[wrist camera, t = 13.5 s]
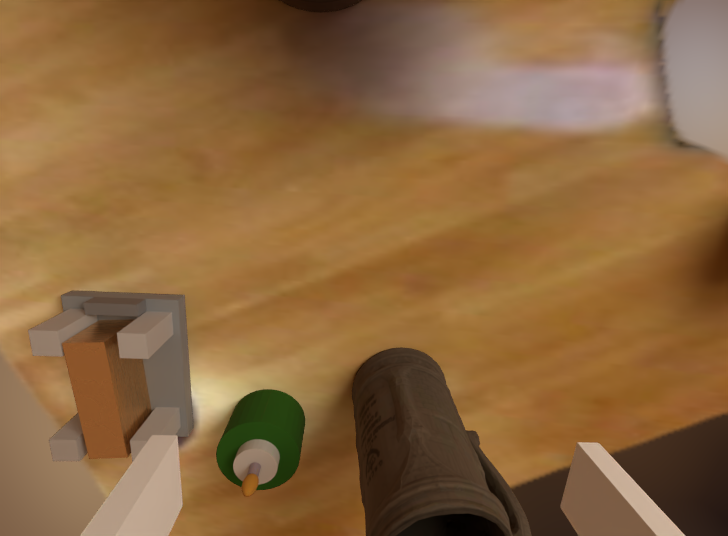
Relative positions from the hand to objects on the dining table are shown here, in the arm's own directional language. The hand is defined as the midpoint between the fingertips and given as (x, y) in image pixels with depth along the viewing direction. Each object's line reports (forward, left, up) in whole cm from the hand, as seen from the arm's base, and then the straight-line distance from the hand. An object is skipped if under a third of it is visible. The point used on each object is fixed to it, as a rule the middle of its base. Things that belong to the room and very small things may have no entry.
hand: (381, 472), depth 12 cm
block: (+12, -23, -25) cm, 36 cm away
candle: (+19, -9, -27) cm, 34 cm away
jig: (+12, -23, -27) cm, 37 cm away
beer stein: (+15, +8, -27) cm, 32 cm away
